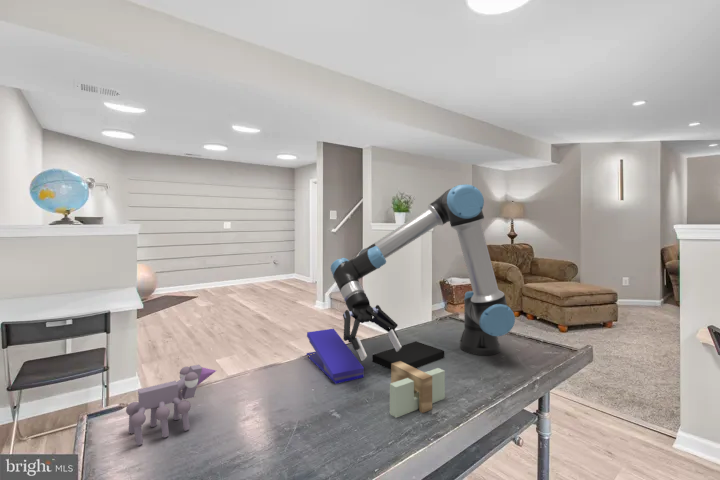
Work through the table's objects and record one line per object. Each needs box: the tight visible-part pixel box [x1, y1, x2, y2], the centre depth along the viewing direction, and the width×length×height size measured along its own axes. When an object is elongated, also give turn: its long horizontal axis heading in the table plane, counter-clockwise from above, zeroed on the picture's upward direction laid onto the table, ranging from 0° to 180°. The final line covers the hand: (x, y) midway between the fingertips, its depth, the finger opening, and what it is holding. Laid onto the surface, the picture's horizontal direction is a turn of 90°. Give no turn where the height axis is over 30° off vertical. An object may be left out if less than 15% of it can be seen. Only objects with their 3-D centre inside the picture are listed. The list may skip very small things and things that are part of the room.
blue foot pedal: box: [306, 328, 365, 385], centre depth 124 cm, size 12×28×10 cm, turn 28°
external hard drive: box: [371, 341, 445, 371], centre depth 130 cm, size 14×23×3 cm, turn 129°
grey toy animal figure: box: [125, 364, 217, 446], centre depth 87 cm, size 20×11×14 cm, turn 127°
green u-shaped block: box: [389, 367, 446, 418], centre depth 96 cm, size 18×2×8 cm, turn 124°
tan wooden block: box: [390, 361, 433, 414], centre depth 99 cm, size 13×4×9 cm, turn 34°
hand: (382, 353), depth 109 cm, fingers open, 13 cm apart
